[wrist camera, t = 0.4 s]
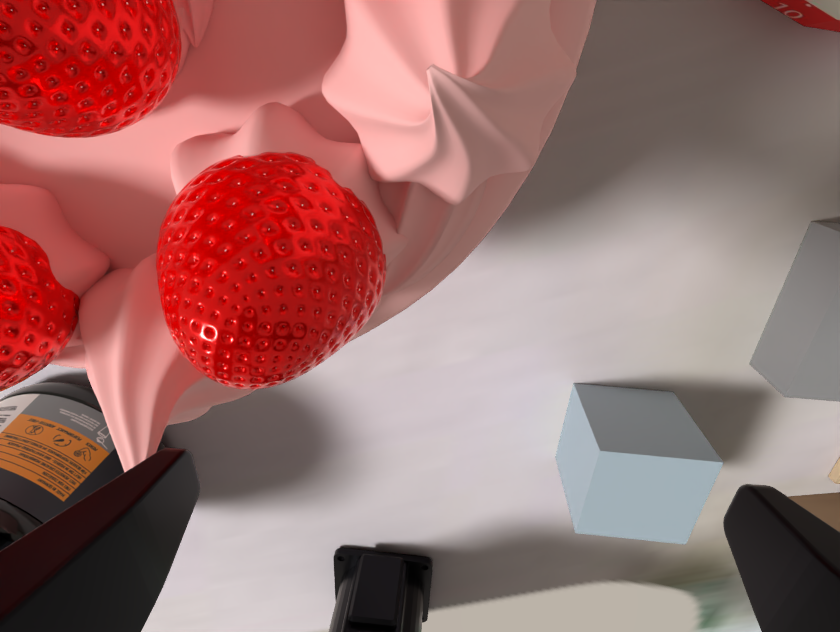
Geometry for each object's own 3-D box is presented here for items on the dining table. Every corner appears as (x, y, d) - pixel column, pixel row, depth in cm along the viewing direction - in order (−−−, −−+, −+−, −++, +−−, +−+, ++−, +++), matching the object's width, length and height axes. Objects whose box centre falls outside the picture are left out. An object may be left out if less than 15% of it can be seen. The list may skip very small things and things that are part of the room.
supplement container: (19, 341, 25) (-315, 532, 14) (201, 425, 27) (26, 653, 16) (-2, 462, 29) (-270, 677, 18) (155, 528, 31) (-6, 760, 20)
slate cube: (645, 464, 25) (685, 544, 21) (555, 456, 26) (575, 533, 21) (672, 390, 23) (723, 462, 19) (573, 382, 23) (599, 450, 19)
